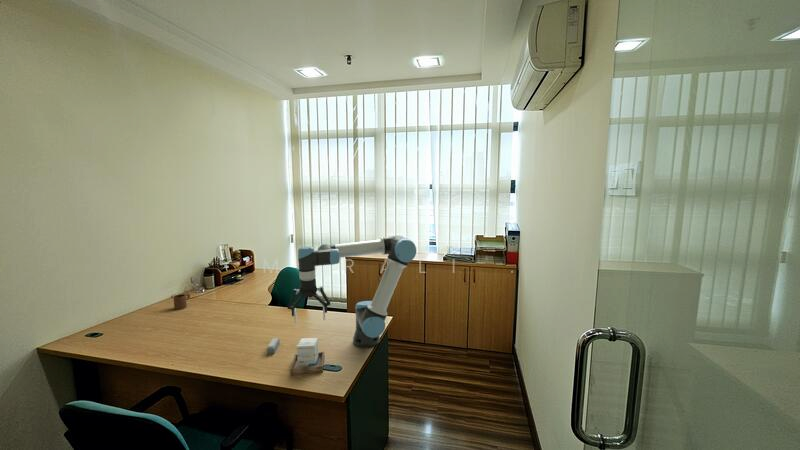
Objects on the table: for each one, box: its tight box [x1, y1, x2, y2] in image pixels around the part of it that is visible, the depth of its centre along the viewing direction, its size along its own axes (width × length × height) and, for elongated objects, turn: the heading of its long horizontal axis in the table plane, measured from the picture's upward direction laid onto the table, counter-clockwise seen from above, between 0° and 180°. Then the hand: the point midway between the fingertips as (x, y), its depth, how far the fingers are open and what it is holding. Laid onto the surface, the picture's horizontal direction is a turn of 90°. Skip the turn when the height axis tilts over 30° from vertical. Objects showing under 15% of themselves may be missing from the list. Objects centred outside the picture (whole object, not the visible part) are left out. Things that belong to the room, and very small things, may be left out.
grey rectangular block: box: [266, 337, 281, 355], centre depth 170 cm, size 10×4×4 cm, turn 6°
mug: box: [173, 292, 191, 311], centre depth 233 cm, size 12×8×9 cm, turn 167°
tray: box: [290, 351, 325, 376], centre depth 154 cm, size 15×14×3 cm
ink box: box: [296, 337, 319, 367], centre depth 154 cm, size 9×8×12 cm
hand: (310, 320), depth 154 cm, fingers open, 13 cm apart
